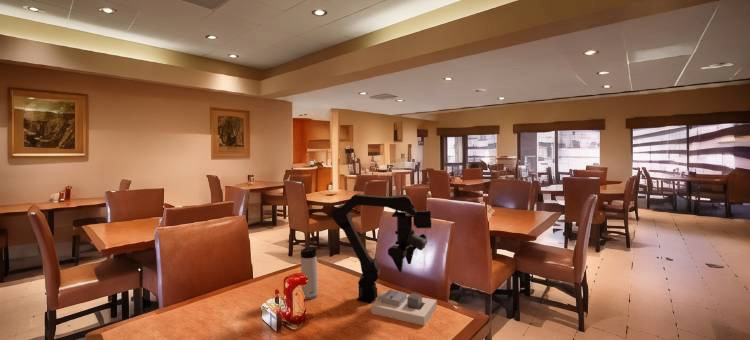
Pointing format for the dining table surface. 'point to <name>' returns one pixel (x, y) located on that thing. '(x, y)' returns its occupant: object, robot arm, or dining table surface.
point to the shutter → (394, 297)
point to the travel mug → (309, 272)
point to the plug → (414, 301)
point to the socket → (405, 310)
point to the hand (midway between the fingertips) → (404, 267)
